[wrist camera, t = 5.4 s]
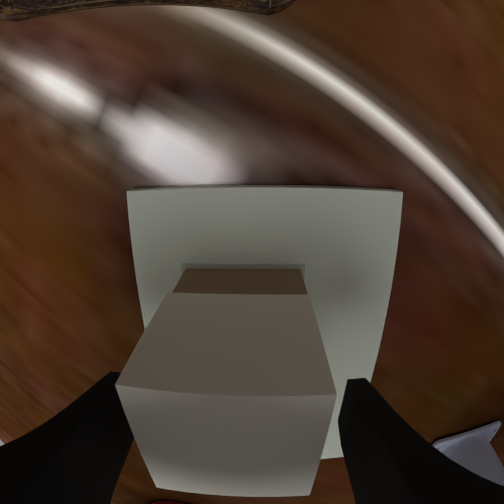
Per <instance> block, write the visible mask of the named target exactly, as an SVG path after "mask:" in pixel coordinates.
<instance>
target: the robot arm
mask: <svg viewBox="0 0 504 504" xmlns="http://www.w3.org/2000/svg"><path fill="white" fill-rule="evenodd" d="M120 374H121V373H119V372H112V371H111V372H109V373H108V374H107V375H106V376H104V377H103V378H102V379H101V380H99V381H98V382H97V383H96V384H95V385H93V386H92V387H91V388H90V389H89V390H87V391H86V392H85V393H84V394H83V395H81V396H80V397H79V398H78V399H76V400H75V401H74V402H73V403H71V404H70V405H69V406H68V407H66V408H65V409H63V410H62V411H61V412H59V413H58V414H57V415H55V416H54V417H52V418H51V419H50V420H48V421H47V422H45V423H44V424H42V425H41V426H39V427H37V428H36V429H34V430H32V431H31V432H29V433H27V434H25V435H24V436H22V437H20V438H18V439H15V440H13V441H11V442H9V443H7V444H4V445H2V446H0V504H110V503H111V498H112V495H113V492H114V489H115V486H116V483H117V480H118V478H119V475H120V473H121V470H122V467H123V465H124V462H125V460H126V457H127V455H128V452H129V450H130V447H131V444H132V442H133V439H134V435H133V433H132V430H131V428H130V425H129V423H128V420H127V417H126V415H125V412H124V409H123V407H122V404H121V401H120V398H119V395H118V392H117V389H116V386H115V384H116V382H117V380H118V378H119V376H120ZM500 426H501V422H500V421H496V422H494V423H491V424H488V425H485V426H483V427H480V428H477V429H474V430H471V431H468V432H464V433H461V434H458V435H454V436H451V437H447V438H444V439H440V440H437V441H436V442H434V443H433V445H431V444H430V443H428V442H427V441H426V440H425V439H424V438H423V437H421V436H420V435H419V434H418V433H417V432H416V431H415V430H414V429H413V428H412V427H411V426H410V425H409V424H408V423H407V422H406V421H405V420H404V419H403V418H402V417H401V416H400V415H399V414H398V413H397V412H396V411H395V410H394V409H393V408H392V407H391V406H390V405H389V404H388V403H387V401H386V400H385V399H384V398H383V397H382V396H381V395H380V394H379V393H378V391H377V390H376V389H375V388H374V387H373V386H372V385H371V383H370V382H369V381H368V380H367V379H366V378H356V379H347V383H346V388H345V392H344V396H343V401H342V405H341V409H340V413H339V417H338V427H339V435H340V442H341V448H342V452H343V456H344V459H345V463H346V467H347V471H348V475H349V478H350V482H351V486H352V490H353V494H354V498H355V503H356V504H504V467H503V465H502V464H501V462H500V460H499V458H498V456H497V455H496V453H495V451H494V449H493V447H492V446H491V444H490V441H491V439H492V438H493V437H494V435H495V434H496V432H497V431H498V429H499V427H500Z"/></svg>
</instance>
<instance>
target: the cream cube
mask: <svg viewBox="0 0 504 504" xmlns="http://www.w3.org/2000/svg"><path fill="white" fill-rule="evenodd" d="M115 386H116V389H117V392H118V395H119V398H120V401H121V404H122V407H123V409H124V412H125V415H126V417H127V420H128V423H129V425H130V428H131V430H132V433H133V435H134V438H135V440H136V443H137V445H138V448H139V450H140V452H141V455H142V457H143V459H144V461H145V464H146V466H147V468H148V470H149V472H150V475H151V477H152V479H153V481H154V483H155V485H156V487H157V488H163V489H169V490H176V491H183V492H191V493H201V494H211V495H225V496H248V497H281V496H303V495H310V492H311V489H312V486H313V482H314V479H315V476H316V473H317V469H318V466H319V462H320V459H321V455H322V452H323V448H324V445H325V441H326V437H327V433H328V429H329V425H330V421H331V417H332V413H333V409H334V405H335V401H336V396H337V393H336V389H335V385H334V381H333V378H332V374H331V370H330V367H329V363H328V359H327V356H326V352H325V349H324V345H323V341H322V338H321V334H320V331H319V327H318V324H317V321H316V317H315V314H314V310H313V307H312V304H311V300H310V297H309V294H301V295H273V294H204V293H171V292H167V293H166V295H165V297H164V299H163V300H162V302H161V304H160V305H159V307H158V309H157V310H156V312H155V314H154V316H153V317H152V319H151V321H150V323H149V324H148V326H147V328H146V329H145V331H144V333H143V335H142V337H141V338H140V340H139V342H138V344H137V345H136V347H135V349H134V351H133V353H132V354H131V356H130V358H129V360H128V362H127V363H126V365H125V367H124V369H123V371H122V372H121V374H120V376H119V378H118V380H117V382H116V384H115Z"/></svg>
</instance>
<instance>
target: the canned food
mask: <svg viewBox="0 0 504 504" xmlns="http://www.w3.org/2000/svg"><path fill="white" fill-rule="evenodd" d="M150 504H187V503H182V502H176V501H165V500H161V501H155V502H152V503H150Z"/></svg>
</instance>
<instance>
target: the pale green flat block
mask: <svg viewBox="0 0 504 504" xmlns="http://www.w3.org/2000/svg"><path fill="white" fill-rule="evenodd" d="M402 199H403V192H401V191H399V190H396V189H381V188H363V187H340V186H309V185H209V186H177V187H155V188H137V189H131V190H129V191H127V204H128V215H129V225H130V234H131V243H132V251H133V259H134V267H135V274H136V281H137V287H138V294H139V300H140V306H141V311H142V317H143V322H144V328H145V329H146V328H147V326H148V324H149V323H150V321H151V319H152V317H153V316H154V314H155V312H156V310H157V309H158V307H159V305H160V304H161V302H162V300H163V299H164V297H165V295H166V293H167V292H171V293H204V294H273V295H301V294H309V297H310V300H311V304H312V307H313V310H314V314H315V317H316V321H317V324H318V327H319V331H320V334H321V338H322V341H323V345H324V349H325V352H326V356H327V359H328V363H329V367H330V370H331V374H332V378H333V381H334V385H335V389H336V393H337V396H336V401H335V405H334V409H333V413H332V417H331V421H330V425H329V429H328V433H327V437H326V441H325V445H324V448H323V452H322V455H321V459H326V458H336V457H344V456H343V452H342V448H341V442H340V435H339V427H338V417H339V413H340V409H341V405H342V401H343V396H344V392H345V388H346V383H347V379H356V378H366V379H367V380H368V381H369V382H371V378H372V374H373V370H374V367H375V363H376V359H377V355H378V350H379V346H380V342H381V337H382V333H383V328H384V324H385V319H386V314H387V309H388V303H389V298H390V292H391V287H392V281H393V275H394V268H395V261H396V254H397V247H398V239H399V230H400V221H401V211H402Z"/></svg>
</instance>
